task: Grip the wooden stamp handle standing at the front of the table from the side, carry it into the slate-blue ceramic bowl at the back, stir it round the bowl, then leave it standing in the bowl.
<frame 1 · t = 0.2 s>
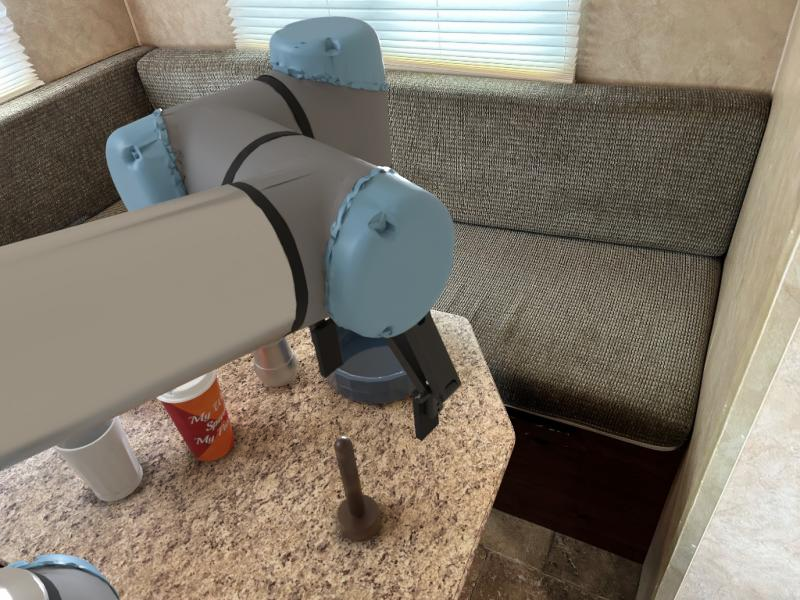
hand: (377, 398, 63), 20 cm above the table, tool pointing down, fingers open, 13 cm apart
wooden stamp handle: (360, 522, 75), on the table
cup: (119, 481, 82), on the table
bowl: (380, 364, 95), on the table
apple: (118, 400, 94), on the table
coffee cup: (214, 444, 86), on the table
silver water bottle: (279, 377, 95), on the table
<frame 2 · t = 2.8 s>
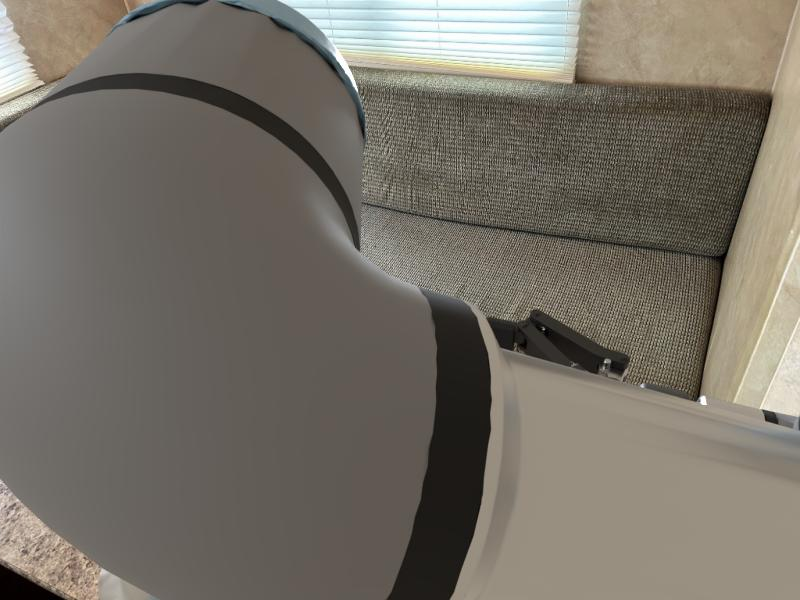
hand: (418, 374, 52), 30 cm above the table, tool horizontal, fingers open, 13 cm apart
nothing on the table moved.
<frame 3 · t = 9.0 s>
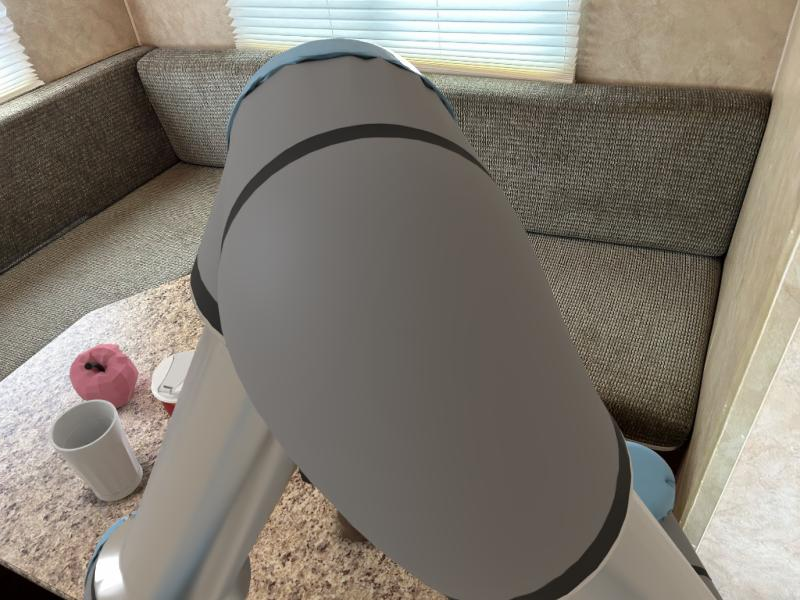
hand: (308, 462, 71), 10 cm above the table, tool horizontal, fingers closed on wooden stamp handle, 2 cm apart
wooden stamp handle: (360, 522, 75), on the table, touching gripper
everything else where it was.
when the fingers open (10 cm above the table, at t = 22.6 s): wooden stamp handle stays where it is, resting on bowl.
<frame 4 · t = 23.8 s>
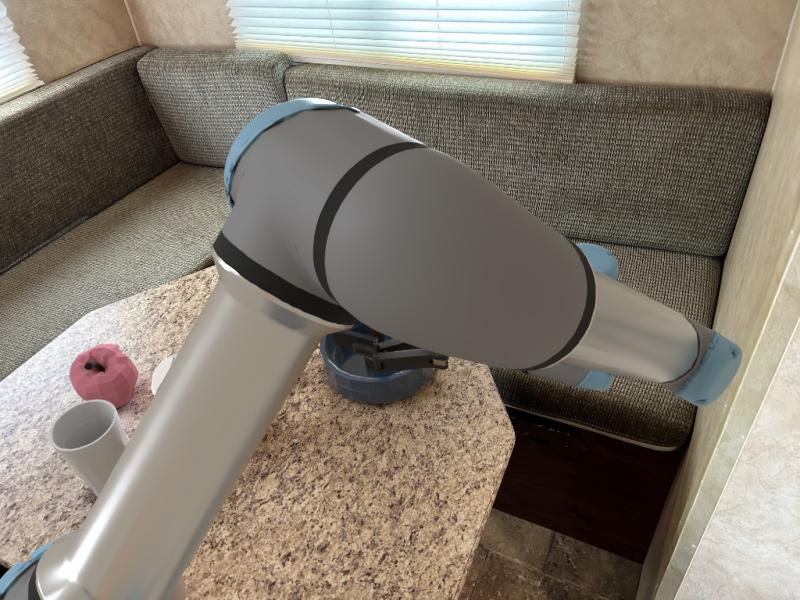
hand: (357, 306, 89), 11 cm above the table, tool horizontal, fingers open, 13 cm apart
wooden stamp handle: (380, 360, 95), point 1 cm above the table, touching bowl
everything else where it was.
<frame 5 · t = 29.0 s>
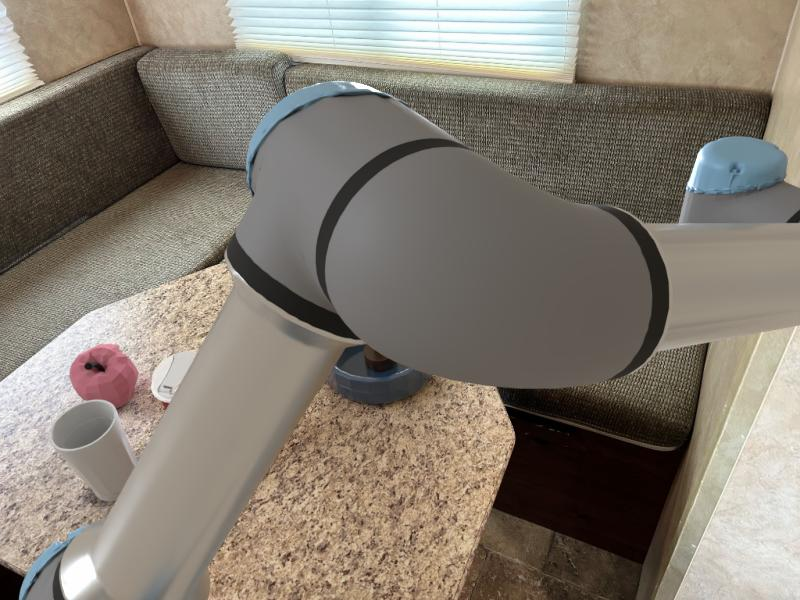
hand: (431, 236, 76), 26 cm above the table, tool horizontal, fingers open, 13 cm apart
nothing on the table moved.
at the end: wooden stamp handle inside the target area in the bowl (0.1 cm from its centre), point 0.8 cm above the bowl's base; wooden stamp handle tilted 0°; the gripper is holding nothing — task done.
